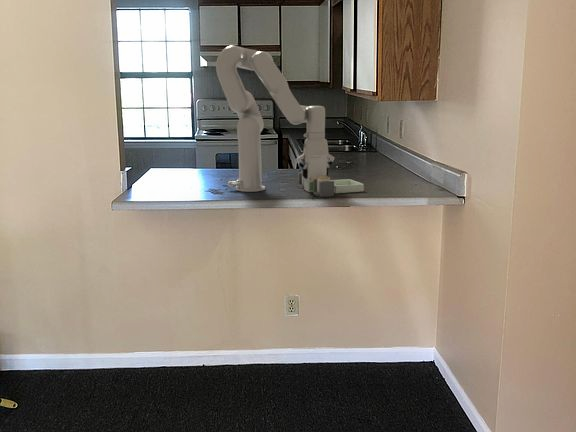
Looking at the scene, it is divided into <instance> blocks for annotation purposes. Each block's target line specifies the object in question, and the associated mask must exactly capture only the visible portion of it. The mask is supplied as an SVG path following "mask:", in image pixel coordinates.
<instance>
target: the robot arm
mask: <svg viewBox="0 0 576 432" xmlns="http://www.w3.org/2000/svg"><path fill="white" fill-rule="evenodd" d="M238 69H244V70H247V71H248V70H249V71H254V73H255V74H256V75H257V77H258V78H259V80H260V81H261V83H262V84H263V86H264V87H265V88H266V89H267V91H268V93H269V95H270V96H271V97H272V99H273V100H274V102H275V104H276V106H277V107H278V109H279V110H280V111H281V113H282V114H283V116H284V117H285V118H286V120H287V121H288V122H289V123H290V124H292V125H295V126H296V125H300V124H303V123H306V132H305V133H304V134H303V138H306V139H304V144H303V152H302V154H301V155H299V156H298V157H297V158H295V161H296V163H297V164H298V166H300V168H301V173H302V176H303V178H305V179H307V173H308V170H307V169H306V168H307V166H308V164H309V163H310V159H309V155H311V156H313V155H327V175H326V176H328V175H329V168H330V166H332V164H333V162H334V160H335V156H333V155H332V154H330V153H329V145H328V140H327V139H325V138H326V108H325V107H324V106H323V105H309V106H308V105H301V104H300V103H299V102H298V100H297V99H296V98H295V96H294V95H293V93H292V91H291V89H290V87H289V83H288V81H287V79H286V78H285V76H284V75H283V73H282V72H281V70H280V69H279V67H278V66H277V65H276V63H275V62H274V59H273V57H272V55H271V54H270V52H266V51H262V50H261V51H260V50H255V49H252V48H251V49H250V48H245V47H242V46H237V45H229V46H226V47H225V48H223V49H222V50H221V52H220V53H219V54H218V56H217V58H216V61H215V71H216V72H215V73H216V74H217V79H218V81H219V83H220V86H221V88H222V91H223V93H224V96H225V99H226V100H227V103H228V105H229V109H230V110H231V111H232V112H234V113H236V115H237V117H238V119H239V120H238V122H237V127H236V133H237V142H238V143H237V147H238V178H237V180H234V181H233V180H232V181H227V185H228V187H235V190H236V191H239V192H241V193H243V192H244V193H245V192H246V193H254V192H255V193H256V192H262V191H265V190H266V186H265V185H262V183H263V181H262V143H261V142H262V141H261V133H262V131H263V130H264V128H265V125H264V124H265V123H264V118H263V117H262V116H263V115H262V114H261V112H260V109H259V107H258V104H257V102H256V100H255V98H254V96H253V94H252V93H251V92H250V91H248V90H246V89H245V87H244V83H243V82H242V79H241V77H240V75H239V72H238ZM302 161H303V162H302ZM328 177H329V176H328Z"/></svg>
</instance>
